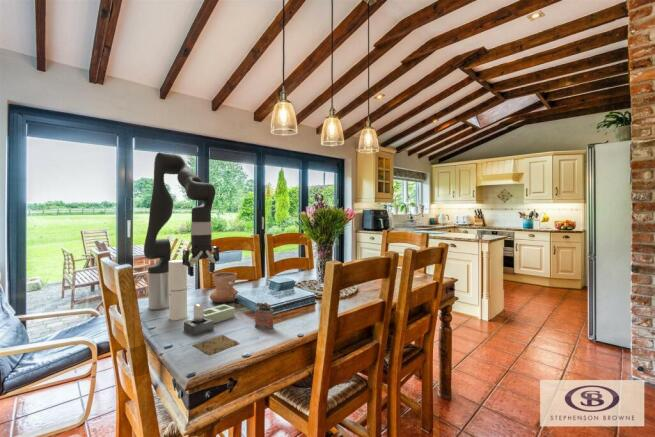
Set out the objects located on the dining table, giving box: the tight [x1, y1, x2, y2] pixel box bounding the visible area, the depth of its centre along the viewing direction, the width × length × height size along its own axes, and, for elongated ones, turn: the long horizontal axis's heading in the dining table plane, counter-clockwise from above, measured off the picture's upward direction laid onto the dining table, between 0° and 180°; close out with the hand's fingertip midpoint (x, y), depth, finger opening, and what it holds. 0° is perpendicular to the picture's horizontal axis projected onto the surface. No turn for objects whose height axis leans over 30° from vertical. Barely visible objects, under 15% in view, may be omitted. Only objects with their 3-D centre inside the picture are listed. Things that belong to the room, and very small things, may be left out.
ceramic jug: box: [209, 271, 240, 304], centre depth 162 cm, size 18×14×14 cm
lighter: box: [254, 302, 274, 331], centre depth 125 cm, size 8×3×10 cm, turn 71°
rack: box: [204, 303, 236, 324], centre depth 135 cm, size 8×14×4 cm, turn 142°
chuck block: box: [183, 317, 215, 337], centre depth 122 cm, size 8×8×4 cm
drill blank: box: [193, 303, 205, 325], centre depth 122 cm, size 4×4×9 cm
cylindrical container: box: [168, 259, 188, 321], centre depth 137 cm, size 7×7×25 cm
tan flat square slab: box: [191, 334, 240, 356], centre depth 110 cm, size 12×12×1 cm
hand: (201, 274), depth 122 cm, fingers open, 8 cm apart
